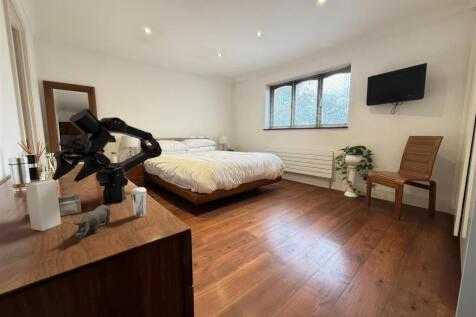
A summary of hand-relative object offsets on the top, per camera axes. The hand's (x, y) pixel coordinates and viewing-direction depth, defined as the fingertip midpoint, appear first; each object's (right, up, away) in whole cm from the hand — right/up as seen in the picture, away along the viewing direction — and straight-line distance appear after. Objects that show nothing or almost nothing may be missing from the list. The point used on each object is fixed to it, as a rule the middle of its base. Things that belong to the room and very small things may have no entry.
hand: (64, 180), depth 60 cm
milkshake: (+21, -12, +3) cm, 25 cm away
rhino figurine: (+15, -13, -8) cm, 21 cm away
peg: (-1, -13, -4) cm, 13 cm away
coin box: (-7, -12, +7) cm, 15 cm away
